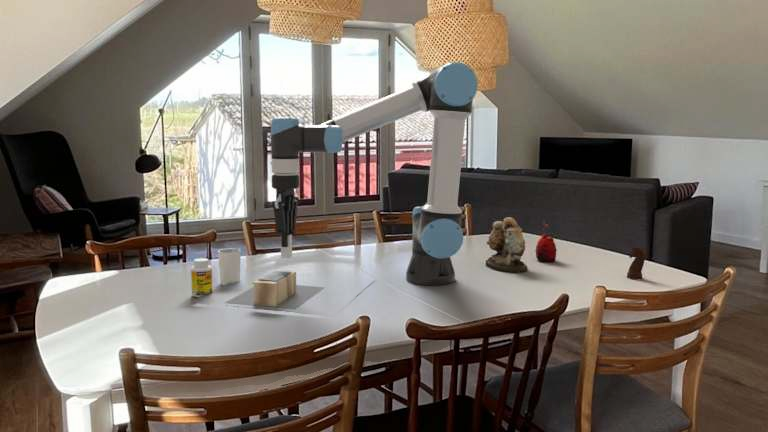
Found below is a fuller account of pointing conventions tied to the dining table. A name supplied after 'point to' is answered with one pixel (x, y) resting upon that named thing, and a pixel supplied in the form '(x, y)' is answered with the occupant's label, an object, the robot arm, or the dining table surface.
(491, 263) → the owl figurine
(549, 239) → the red clay folk toy
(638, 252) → the chess piece
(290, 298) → the mat
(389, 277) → the dining table surface
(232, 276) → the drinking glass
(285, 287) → the oak block
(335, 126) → the robot arm
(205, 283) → the supplement bottle
